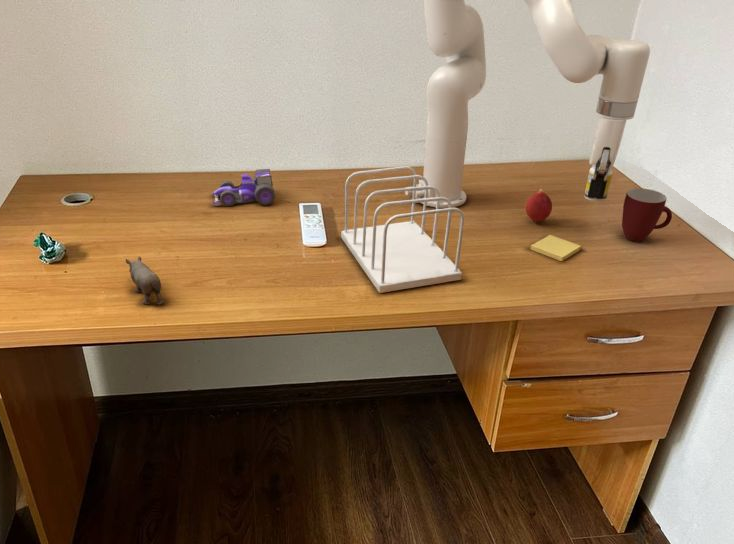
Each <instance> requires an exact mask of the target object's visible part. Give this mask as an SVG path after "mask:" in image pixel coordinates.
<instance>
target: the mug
mask: <svg viewBox="0 0 734 544" xmlns="http://www.w3.org/2000/svg"><path fill="white" fill-rule="evenodd" d="M666 203H667V196H666V195H665V194H664V193H662V192H660V191H658V190H654V189H650V188H632V189H628V191H627V192H626V194H625V196H624V201H623V206H622V217H621V228H622V232H623V236H624V238H625V239H626V240H628V241H630V242H634V243H639V242H640V243H641V242H643V241H645V239H647V238H648V237H649V236H650V235H651V234H652V232H653V231H654V230H660V229H664V228H665V227H667V226H668V225H669V224H670V223H671V221H672V219H673V213H672V210H671V209H670V208H669V207H667V206H666ZM663 213H665V215H666V218H665V220H663V222H662V223H660V224H657V223H658V222H659V220H660V218H661V216H662V214H663Z"/></svg>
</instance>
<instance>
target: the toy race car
mask: <svg viewBox="0 0 734 544" xmlns="http://www.w3.org/2000/svg"><path fill="white" fill-rule="evenodd" d="M240 176H241V183H240V184H239V185H235V184H234V183H233V182H232V181H230V180H223V181H222V182H221V183H220V185H219V187H218V188H217V189H216V190H214V191H212V196H213V197H214V201H213V202H212V205H213V207H221V206H222V205H223V206H225V207H232V206H234V205H236V204H237V205H238V204H240V205H241V204H247V203H253V202H257V203H258V204H259V205H261V206H264V207H265V206H270V205H271V204H273V203H274V201H275V200H276V192H275V191H276V190H275V189H274V187H273V186H274V183H273V180H272V179H273V177H272V175H271V169H270V168H261V169H256V170H255V171H254V177H251V176H250V175H249V174H241V175H240ZM219 197H220V199H219Z"/></svg>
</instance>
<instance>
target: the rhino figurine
mask: <svg viewBox="0 0 734 544" xmlns="http://www.w3.org/2000/svg"><path fill="white" fill-rule="evenodd" d="M125 263H126V264H127V265H128V266H129V270H128V271H129V273H130V279H131V280H132V282H133V284H134V285H135V286H136V288H135V290H134V293H143V296H144V299H143V300H142V304H144V305H150V304H151V299H150V298H151V292H152V291H153V293H154V295H155V298H156V300H155V304H156V305H158V306H161V305H164V303H165V301H164V299H163V298H162V293H161V290H162V283H161V280H160V278H159V276H158V275H157V274H156V273H155V272H154V271H153V270H152V269H151V268H150V267H149V266H148V265H147V264H145V263H144V262H142V257H141V256H138V257H137V259H135V260H130V259H127V258H125Z"/></svg>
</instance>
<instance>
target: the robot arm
mask: <svg viewBox="0 0 734 544" xmlns="http://www.w3.org/2000/svg"><path fill="white" fill-rule="evenodd" d="M524 2H525V4H526V5H527V7H528V8H529V10H530V13H531V16H532V20H533V24H534V25H535V29H536V31H537V33H538V36H539V39H540V41H541V43H542V46H543V48H544V49H545V51H546V53H547V54H548V56H549V58H550V59H551V61H552V62H553V64H554V66H555V67H556V68H557V71H558V72H559V73H560V75H561V76H562V77H563V78H564V79H565V80H566V81H569V82H571V83H574V84H583V83H587V82H588V81H590V80H592V78H594V77H595V76H597V75H602V81H601V85H600V90H599V94H598V95H599V96H598V97H597V98H598V99H597V104H596V107H595V112H594V113H595V116H597V117H599V118H598V121H597V125H596V129H595V133H594V138H593V141H592V147H591V151H590V156H589V160H588V164H589V166H591V167H593V166H592V165H595V164H596V165H595V171H594V175H593V178H592V179H591V183H590V187H589V192H588V197H592V198H600V199H602V198H603V196H604V192H605V188H606V184H607V180H606V179H607V175H608V171H609V166H610V168H611V167H612V168H613V167H614V165H615V162H616V159H617V156H618V152H619V150H620V146H621V142H622V139H623V136H624V132H625V128H626V124H627V121H628V120H632V119H634V118H635V113H636V109H637V106H638V101H639V97H640V94H641V91H642V85H643V82H644V78H645V74H646V69H647V66H648V62H649V58H650V53H651V47H650V45H649V44H648V43H646V42H644V41H639V40H633V39H622V40H620V39H616V38H611V37H607V36H604V35H600V34H588V35H586V33H585V32H584V29H583V28H582V26H581V24H580V22H579V20H578V18H577V17H576V14H575V11H574V7H573V4H572V3H573V2H572V0H524ZM423 8H424V9H423V10H424V19H425V30H426V39H427V44H428V45H427V46H428V47H429V49H430V51H431V52H432V54H434V55H435V56H437V57H440V58H445V60H446V62H445V63H444V64H442V65H440V66H439V67H438V68H437V69H435V71H434V72H432V74H431V76H430V77H429V80H428V82H427V84H426V85H427V86H426V107H427V114H426V115H427V119H426V120H427V121H426V133H425V134H426V136H425V148H424V150H425V151H424V159H423V174H422V176H423V177H424V178H426V180H427V182H428V186H433V187H435V188H436V189H437V190H438V191H439V193H440V197H445V198H447V199H448V200H449V201H450V202H451V204H452V208H458V207H459V206H462V205H464V204H465V203H466V201H467V196H468V195H467V193H466V192H465V191H464V190H463V189H462V184H463V176H464V167H465V158H466V150H467V140H468V130H469V101H470V100H472V99H473V98H475V97H476V96H477V95H478V94H480V92H481V91H482V90H483V88H484V86H485V84H486V80H487V64H486V63H487V61H486V59H487V58H486V47H485V46H486V45H485V30H484V24H483V21H482V18H481V15H480V14H479V12H478V10H476V9H475V8H474V6H472V5H470V4H466V3H465V0H423ZM598 162H601V163H600V165H598ZM607 163H608V166H606V165H607ZM598 168H599V170H598V171H597V169H598ZM605 169H606V171H605ZM595 178H596V179H595ZM421 186H425V182H424V180H422V179H418V183H416V187H421ZM410 187H413V186H406V187H405V188H410ZM404 194H405V195H406V196H413V191H404ZM424 196H425V190H416V196H415V199H424ZM434 197H437V193H436V192H435V191H434V190H432V189H428V195H427V198H434ZM419 203H420V204H421V205H424V202H419ZM436 203H437V201H429V202H427V205H426V207H431V208H436ZM445 208H449V205H448V203H447V202H446V201H443V200H440V205H439V209H445Z"/></svg>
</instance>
